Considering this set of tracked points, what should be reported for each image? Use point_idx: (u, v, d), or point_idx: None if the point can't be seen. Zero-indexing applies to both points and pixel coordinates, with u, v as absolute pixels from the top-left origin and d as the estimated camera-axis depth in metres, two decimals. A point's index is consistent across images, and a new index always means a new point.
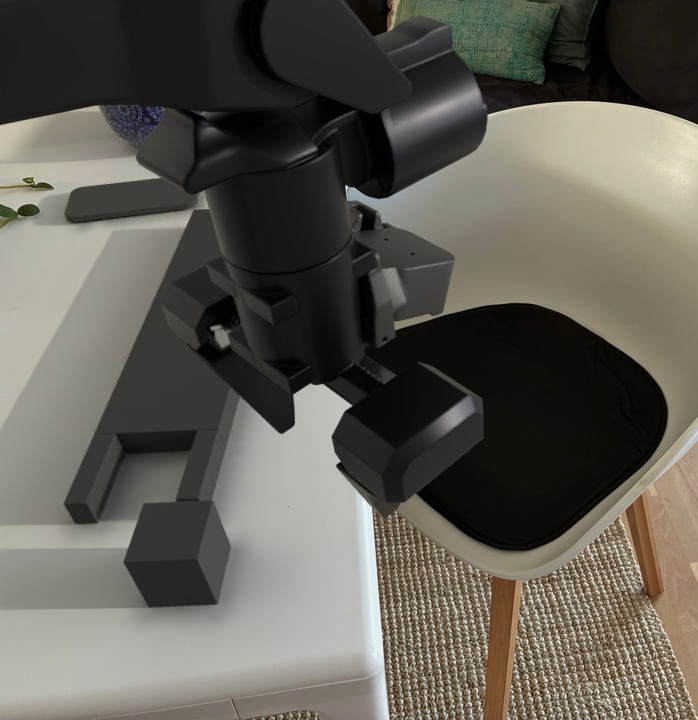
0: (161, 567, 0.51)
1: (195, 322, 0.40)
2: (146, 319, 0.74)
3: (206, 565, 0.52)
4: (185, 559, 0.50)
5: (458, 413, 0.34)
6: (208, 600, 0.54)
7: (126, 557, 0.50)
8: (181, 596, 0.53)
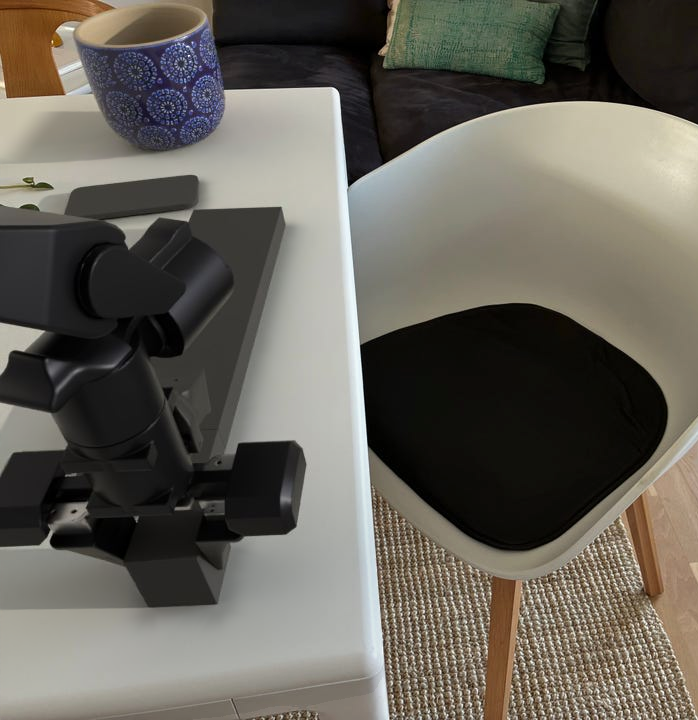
0: (161, 567, 0.51)
1: (35, 522, 0.46)
2: None
3: (206, 565, 0.52)
4: (185, 559, 0.50)
5: (293, 454, 0.49)
6: (208, 600, 0.54)
7: (126, 557, 0.50)
8: (181, 596, 0.53)
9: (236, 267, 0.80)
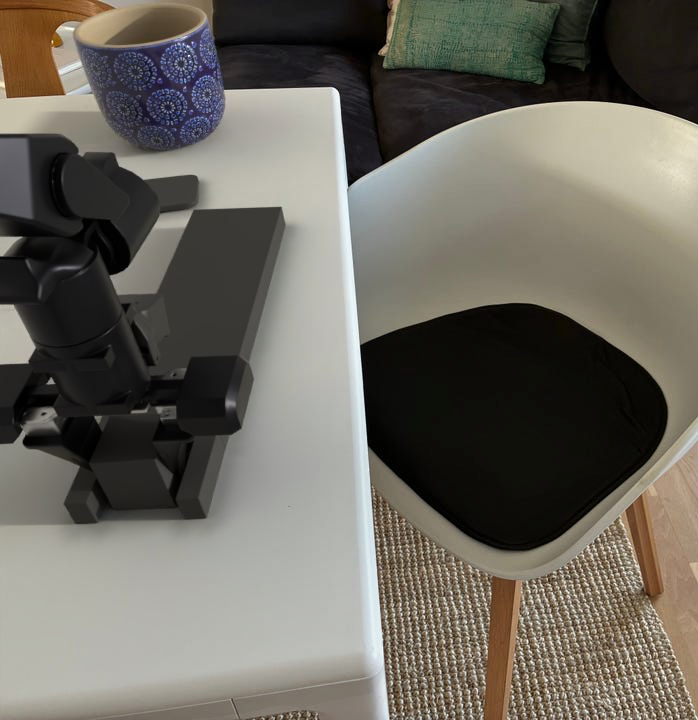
0: (123, 469, 0.57)
1: (9, 420, 0.52)
2: None
3: (164, 469, 0.58)
4: (144, 460, 0.56)
5: (239, 366, 0.55)
6: (167, 503, 0.60)
7: (92, 459, 0.57)
8: (142, 498, 0.59)
9: (236, 267, 0.80)
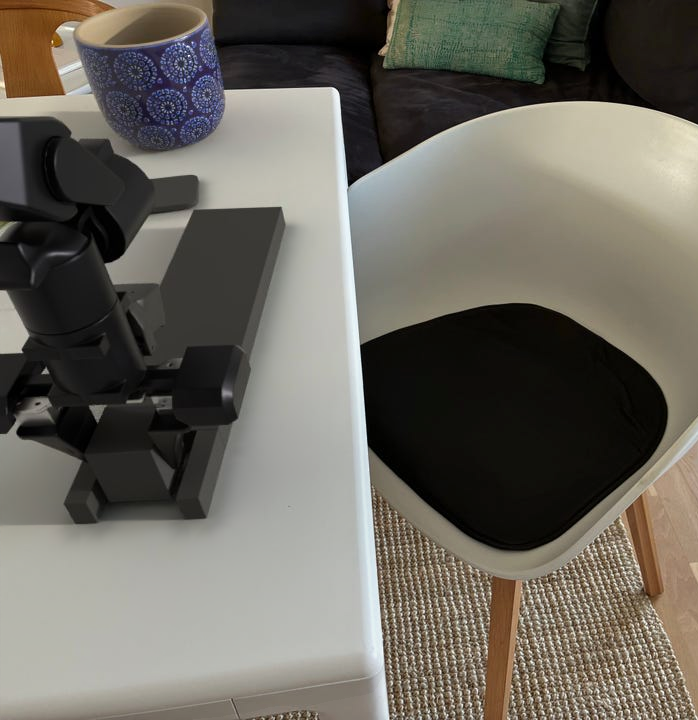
0: (118, 460, 0.56)
1: (2, 410, 0.52)
2: None
3: (160, 460, 0.57)
4: (139, 451, 0.56)
5: (236, 356, 0.55)
6: (163, 495, 0.59)
7: (87, 450, 0.56)
8: (138, 490, 0.59)
9: (236, 267, 0.80)
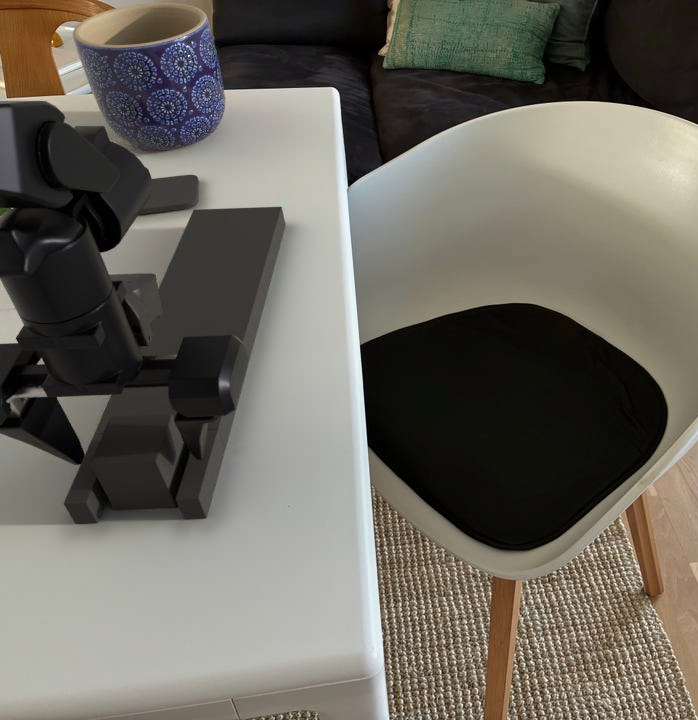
0: (124, 469, 0.57)
1: None
2: None
3: (164, 469, 0.58)
4: (145, 461, 0.57)
5: (233, 346, 0.54)
6: (168, 503, 0.60)
7: (93, 459, 0.57)
8: (143, 499, 0.59)
9: (236, 267, 0.80)
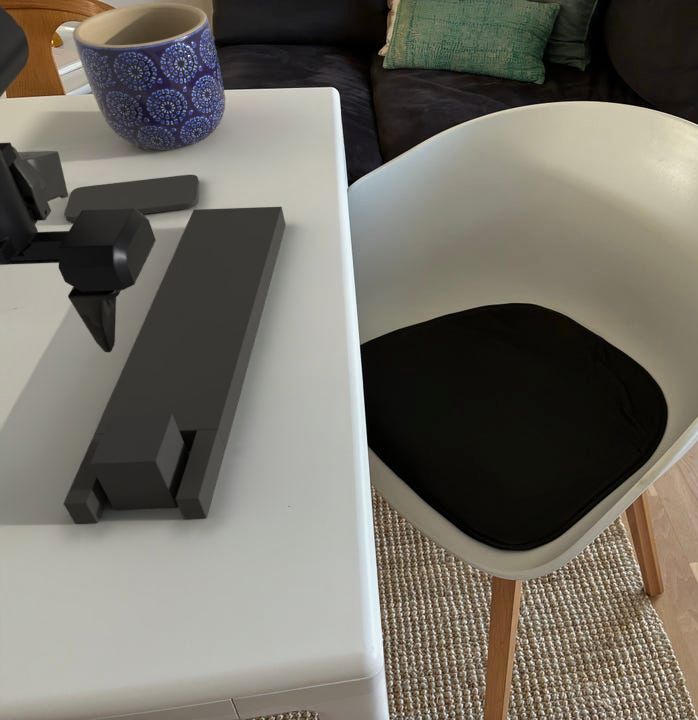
0: (124, 469, 0.57)
1: None
2: (146, 319, 0.74)
3: (164, 469, 0.58)
4: (145, 461, 0.57)
5: (135, 219, 0.50)
6: (168, 503, 0.60)
7: (93, 459, 0.57)
8: (143, 499, 0.59)
9: (236, 267, 0.80)
